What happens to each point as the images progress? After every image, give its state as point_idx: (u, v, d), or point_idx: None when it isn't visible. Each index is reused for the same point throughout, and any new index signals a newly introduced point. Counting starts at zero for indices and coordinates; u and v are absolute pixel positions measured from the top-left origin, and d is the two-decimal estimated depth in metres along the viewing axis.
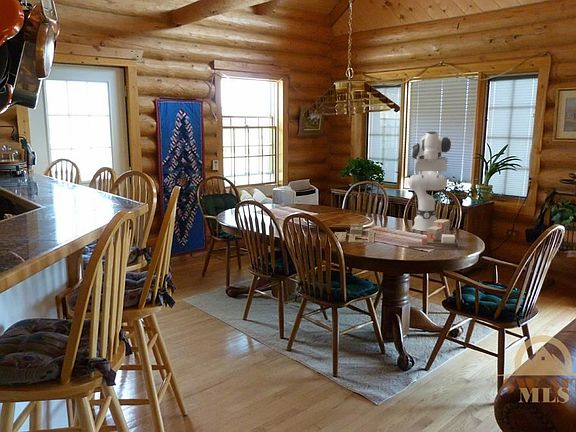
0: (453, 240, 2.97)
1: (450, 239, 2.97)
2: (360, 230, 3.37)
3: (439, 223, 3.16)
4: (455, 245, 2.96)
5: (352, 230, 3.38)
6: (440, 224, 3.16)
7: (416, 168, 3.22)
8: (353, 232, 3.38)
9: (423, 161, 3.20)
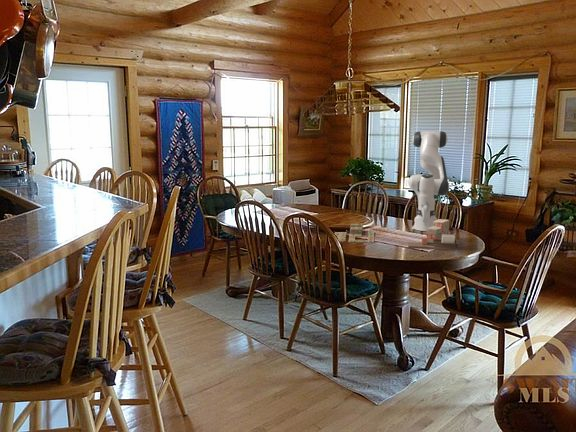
0: (453, 240, 2.97)
1: (450, 239, 2.97)
2: (360, 230, 3.37)
3: (439, 223, 3.16)
4: (455, 245, 2.96)
5: (352, 229, 3.38)
6: (440, 224, 3.15)
7: (421, 211, 3.09)
8: (353, 232, 3.38)
9: None
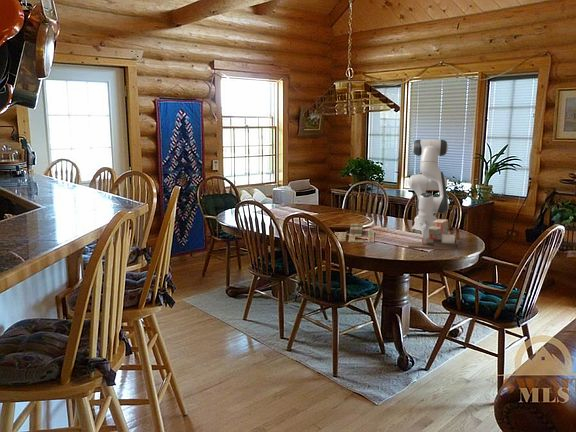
0: (453, 240, 2.97)
1: (450, 239, 2.97)
2: (360, 230, 3.37)
3: (438, 223, 3.16)
4: (455, 245, 2.96)
5: (352, 229, 3.38)
6: (439, 224, 3.15)
7: None
8: (353, 232, 3.38)
9: None
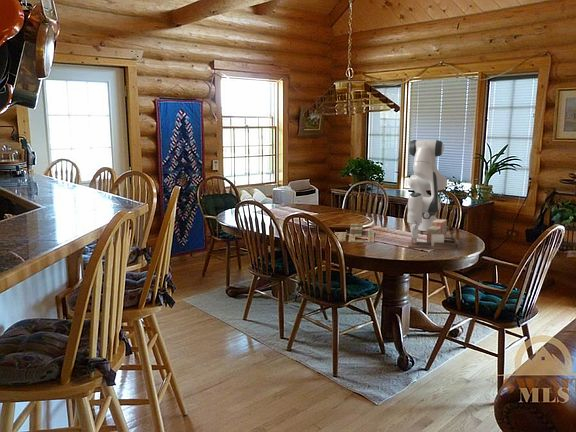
0: (442, 240, 2.98)
1: (439, 238, 2.99)
2: (360, 230, 3.37)
3: (438, 223, 3.16)
4: (455, 245, 2.96)
5: (352, 229, 3.38)
6: (439, 224, 3.15)
7: (410, 228, 3.13)
8: (353, 232, 3.38)
9: None
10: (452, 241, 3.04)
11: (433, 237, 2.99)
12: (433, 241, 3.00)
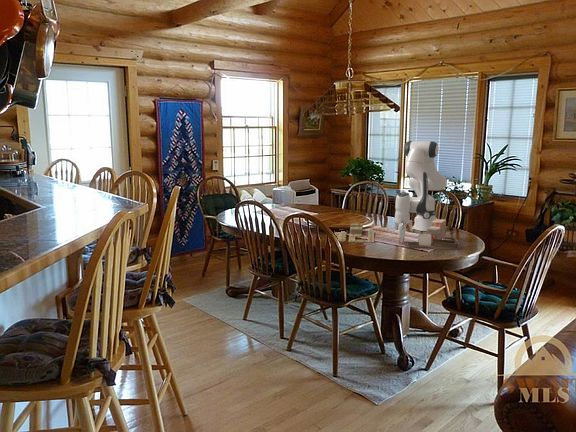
0: (429, 239, 3.00)
1: (427, 238, 3.00)
2: (360, 230, 3.37)
3: (438, 223, 3.16)
4: (455, 245, 2.96)
5: (352, 229, 3.38)
6: (439, 224, 3.15)
7: (398, 228, 3.14)
8: (353, 232, 3.38)
9: None
10: (452, 241, 3.04)
11: (420, 237, 3.01)
12: (420, 241, 3.01)
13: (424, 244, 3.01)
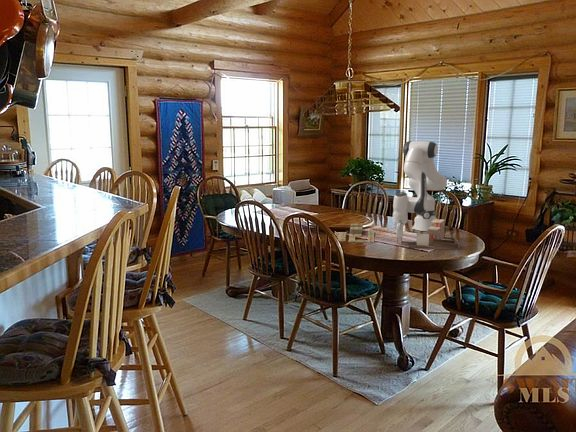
0: (427, 239, 3.00)
1: (424, 238, 3.00)
2: (360, 230, 3.37)
3: (437, 223, 3.15)
4: (455, 245, 2.96)
5: (352, 229, 3.38)
6: (438, 224, 3.15)
7: (396, 228, 3.15)
8: (353, 232, 3.38)
9: None
10: (452, 241, 3.04)
11: (418, 236, 3.01)
12: (418, 240, 3.02)
13: (422, 244, 3.02)
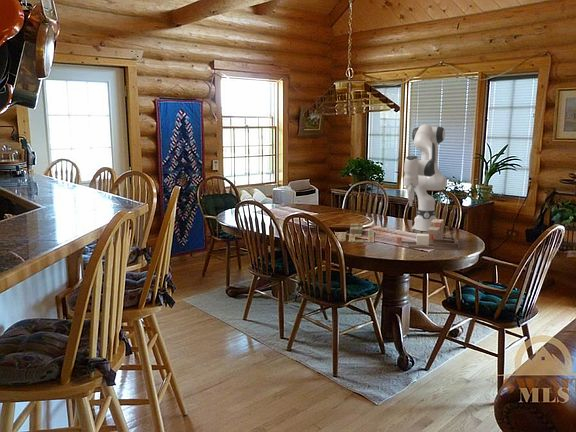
0: (427, 239, 3.00)
1: (424, 238, 3.00)
2: (360, 230, 3.37)
3: (437, 223, 3.15)
4: (455, 245, 2.96)
5: (352, 229, 3.38)
6: (438, 224, 3.15)
7: (407, 192, 3.16)
8: (353, 232, 3.38)
9: None
10: (452, 241, 3.04)
11: (418, 236, 3.01)
12: (418, 240, 3.02)
13: (422, 244, 3.02)
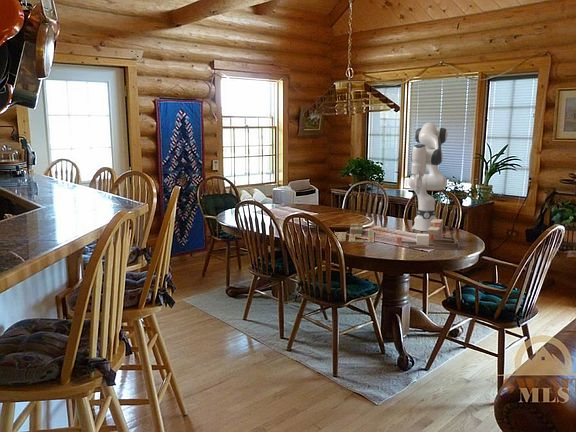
0: (427, 239, 3.00)
1: (424, 238, 3.00)
2: (360, 230, 3.37)
3: (436, 223, 3.15)
4: (455, 245, 2.96)
5: (352, 229, 3.38)
6: (437, 224, 3.15)
7: (414, 181, 3.19)
8: (353, 232, 3.38)
9: None
10: (452, 241, 3.04)
11: (418, 236, 3.01)
12: (418, 240, 3.02)
13: (422, 244, 3.02)
